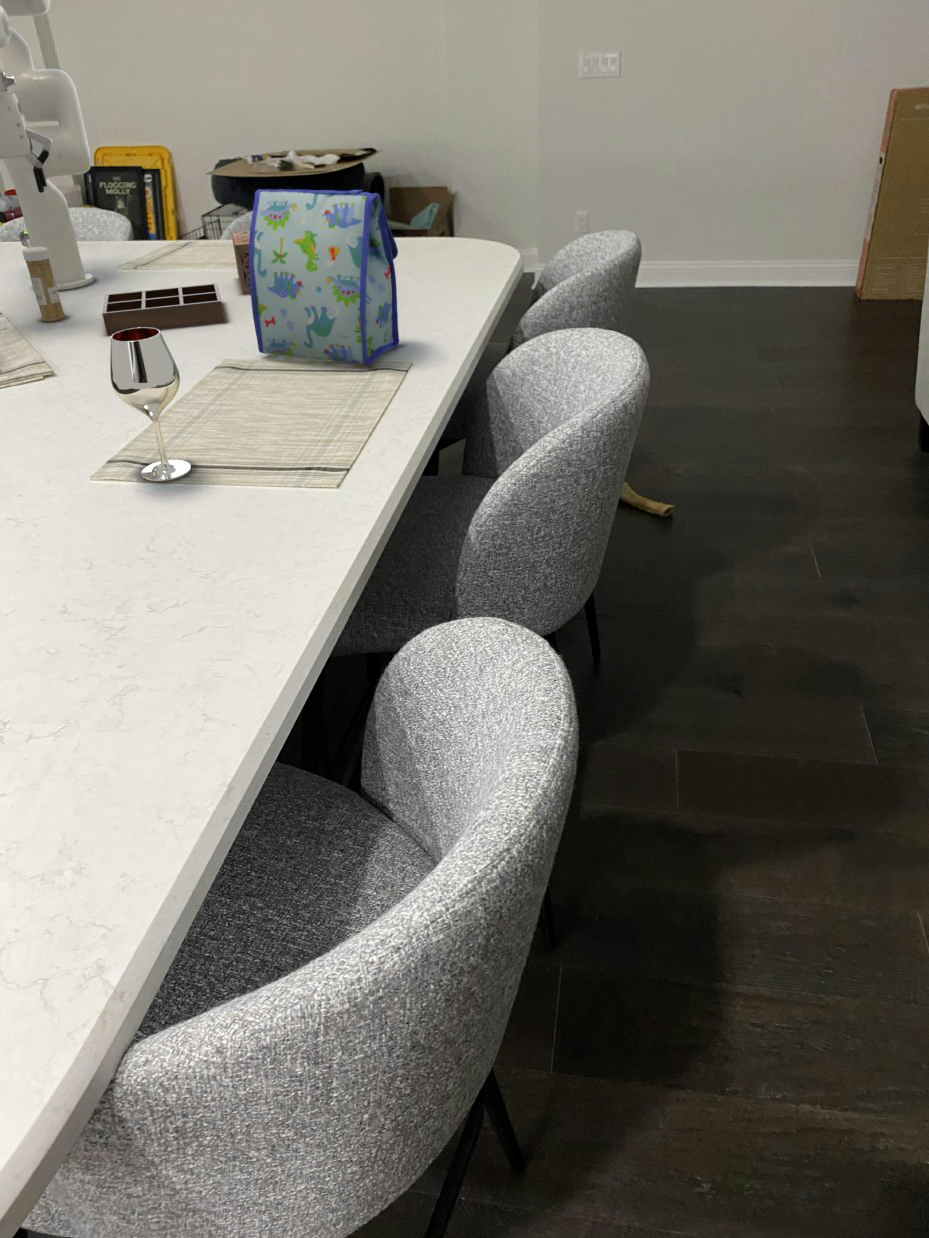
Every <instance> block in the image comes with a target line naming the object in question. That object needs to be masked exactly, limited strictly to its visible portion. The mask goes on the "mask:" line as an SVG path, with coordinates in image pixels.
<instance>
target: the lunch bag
mask: <svg viewBox="0 0 929 1238" xmlns="http://www.w3.org/2000/svg"><path fill="white" fill-rule="evenodd" d="M252 207H253V208H252V214H251V219H250V220H251V221H250V228H249V230H250V239H249V274H250V287H251V294H250V301H251V309H252V319H253V325H254V332H255V335H256V336H255V337H256V341H257V349H258V352H259V353H261V354H264V355H266V354H267V355H272V356H274V355H275V356H284V357H291V358H300V359H311V360H319V361H330V362H331V361H332V362H338V363H339V362H340V363H348V364H355V365H356V364H359V365H360V364H361V365H366V366H370V365H372V364H373V363H374V362H375V361H377V359H378V358H379V357H381V356H382V355H383V354H384V353H386V352H388V351H390V350H393V349H395V348H397V347H398V346H399V345H400V334H399V320H398V319H399V317H398V316H399V314H398V313H399V312H398V294H397V293H398V291H397V290H398V288H397V278H396V269H395V264H394V263H395V262H394V260H395V259H396V258H397V257H398V255H399V250H398V245H397V243H396V239H395V238H394V234H393V233H392V230H391V227H390V225H389V221H388V218H387V215H386V212H385V208H384V205H383V203H382V199H381V195H380V194H379V193H378V192H374V193H371V192H367V191H363V189H351V190H335V189H322V190H321V189H319V190H317V189H313V190H312V189H285V188H284V189H282V188H279V189H278V188H277V189H272V188H271V189H268V188H266V189H260V188H258V189H257V190H255V192H254V201H253V206H252Z"/></svg>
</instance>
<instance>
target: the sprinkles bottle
mask: <svg viewBox="0 0 929 1238" xmlns="http://www.w3.org/2000/svg"><path fill="white" fill-rule="evenodd" d="M22 256H23V259H24V261H25V263H26V266H27V269H28V274H29V278H30V282H31V285H32V289H33V293H34V296H35V299H36V302H37V305H38V308H39V311H40V316H41V317H40V318H41V320H42V321H43V322H57V321H58V322H59V321H60V320H63V319H65V317H66V314H65V312H64V308H63V305H62V302H61V298H60V297H61V296H60V292H59V290H58V289H57V286H56V282H55V278H54V276H53V272H52V268H51V265H50V262H49V253H48V250H47V248H46V247H32V246H31V247H28V248H24V249H22Z"/></svg>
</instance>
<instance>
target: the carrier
mask: <svg viewBox="0 0 929 1238" xmlns="http://www.w3.org/2000/svg"><path fill="white" fill-rule="evenodd" d="M101 315H102V319H103V323H104V327H105V331H106V335H107V336H112V335H113V334H115V333H117V332H119V331H122V330H127V329H132V328H155V329H158V330H159V331H160V330H161V331H162V330H171V329H178V328H189V327H197V326H206V325H208V326H209V325H215V324H225V323H226V319H225V313H224V307H223V301H222V297H221V293H220V290H219V285H218V283H217V282H216V283H215V282H214V283H206V284H205V283H204V284H196V285H185V286H176V287H164V288H155V289H145V290H144V289H143V290H135V291H126V292H115V293H106V294H104V300H103V307H102V314H101Z"/></svg>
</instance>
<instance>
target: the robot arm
mask: <svg viewBox="0 0 929 1238" xmlns="http://www.w3.org/2000/svg"><path fill="white" fill-rule="evenodd" d="M50 7H51V0H0V160H3V162H4V165H5V167H6V169H7V172H8V174H9V176H10V180H11V182H12V185H13V187H14V190H15V193H16V196H17V199H18V203H19V207H20V210H21V214H22V217H23V221H24V225H25V228H26V232H27V235H28V238H29V242H30V246H31V248H32V247H46V248H47V250H48V253H49V262H50V265H51V268H52V272H53V276H54V278H55V282H56V286H57V289H58V291H63V290H64V291H65V290H71V289H72V290H73V289H76V288H77V289H78V288H81V287H84V286H85V287H86V286H88V285H90V284H92V283H93V282H94V277H93V274H91V273H90V272H89V273H88V272H85V270H84V266H83V261H82V259H81V254H80V250H79V247H78V242H77V238H76V233H75V230H74V225H73V221H72V219H71V214H70V210H69V205H68V201H67V199H66V196H65V195H64V194H63V192H62V191H61V190H60V189H59V188H58V187H57V186H56V185H55V184H54V183H52V181H50V180H49V178H53V177H64V176H75V175H76V176H77V175H84V174H86V173H88V172H89V171H90V169H91V166H92V158H91V151H90V145H89V142H88V137H87V132H86V126H85V123H84V117H83V113H82V108H81V103H80V99H79V95H78V91H77V88H76V86H75V85H76V84H75V83H74V81H73V79H72V78H71V76H70V75H69V74H68V73H67V72H66V71H64V70H62V69H58V68H43V69H41V68H40V69H36V68H35V66H34V61H33V57H32V52H31V47H30V45H29V44H28V42H27V41H26V39H24V37H22V35H21V34H20V33H19V32H18V31H17V30H16V29H14V28H13V27H12V24H11V20H10V18H13V17H14V18H17V17H39V16H43V15H45V14H47V13H48V12H49V10H50ZM47 122H48V123H49V122H57V123H60V124H61V125H45V126H44V125H43V126H41V125H39V126H38V125H37V126H28V125H27V123H47Z"/></svg>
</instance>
